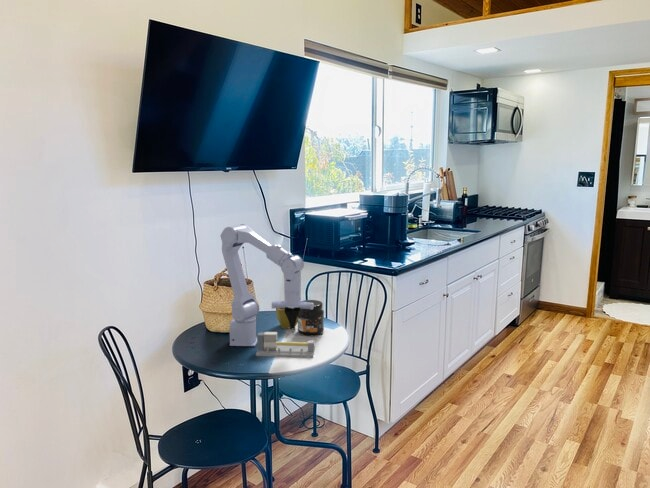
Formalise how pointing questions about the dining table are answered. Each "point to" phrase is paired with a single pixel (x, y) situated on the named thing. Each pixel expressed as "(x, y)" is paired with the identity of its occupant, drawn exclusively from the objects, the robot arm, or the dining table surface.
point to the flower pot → (283, 318)
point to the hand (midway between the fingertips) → (292, 328)
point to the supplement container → (311, 319)
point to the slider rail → (286, 348)
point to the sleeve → (270, 340)
